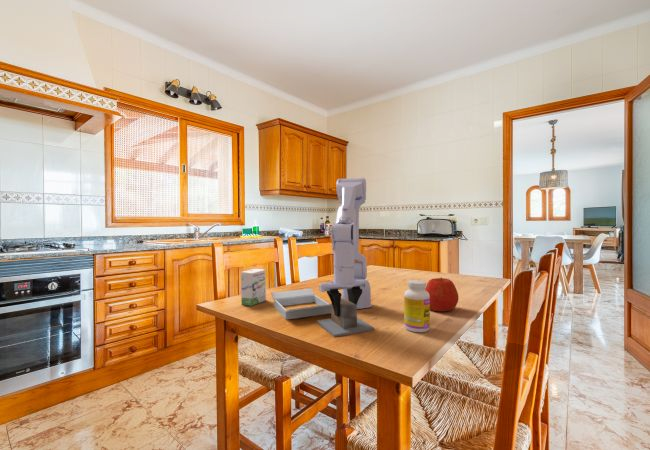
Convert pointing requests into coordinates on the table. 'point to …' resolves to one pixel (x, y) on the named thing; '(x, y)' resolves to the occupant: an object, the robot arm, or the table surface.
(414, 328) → the supplement bottle
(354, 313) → the block
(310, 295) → the grey shallow open piece
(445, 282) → the apple
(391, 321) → the table surface
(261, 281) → the ink box
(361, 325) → the mat
